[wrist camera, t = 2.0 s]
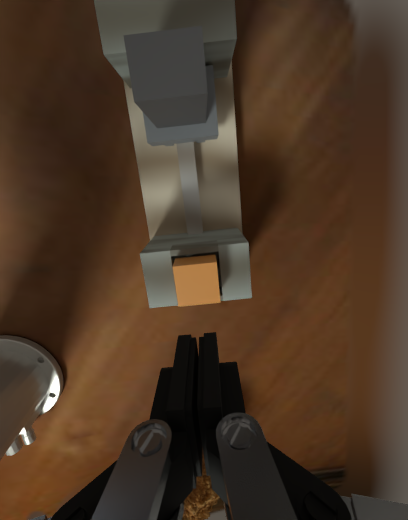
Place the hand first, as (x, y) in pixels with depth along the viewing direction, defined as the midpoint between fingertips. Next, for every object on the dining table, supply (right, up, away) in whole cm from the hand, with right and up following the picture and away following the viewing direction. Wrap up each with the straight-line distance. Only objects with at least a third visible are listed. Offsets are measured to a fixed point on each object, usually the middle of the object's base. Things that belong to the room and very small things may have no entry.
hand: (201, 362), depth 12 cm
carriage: (-2, +18, +13) cm, 23 cm away
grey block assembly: (-2, +14, +16) cm, 22 cm away
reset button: (0, +3, +11) cm, 12 cm away
